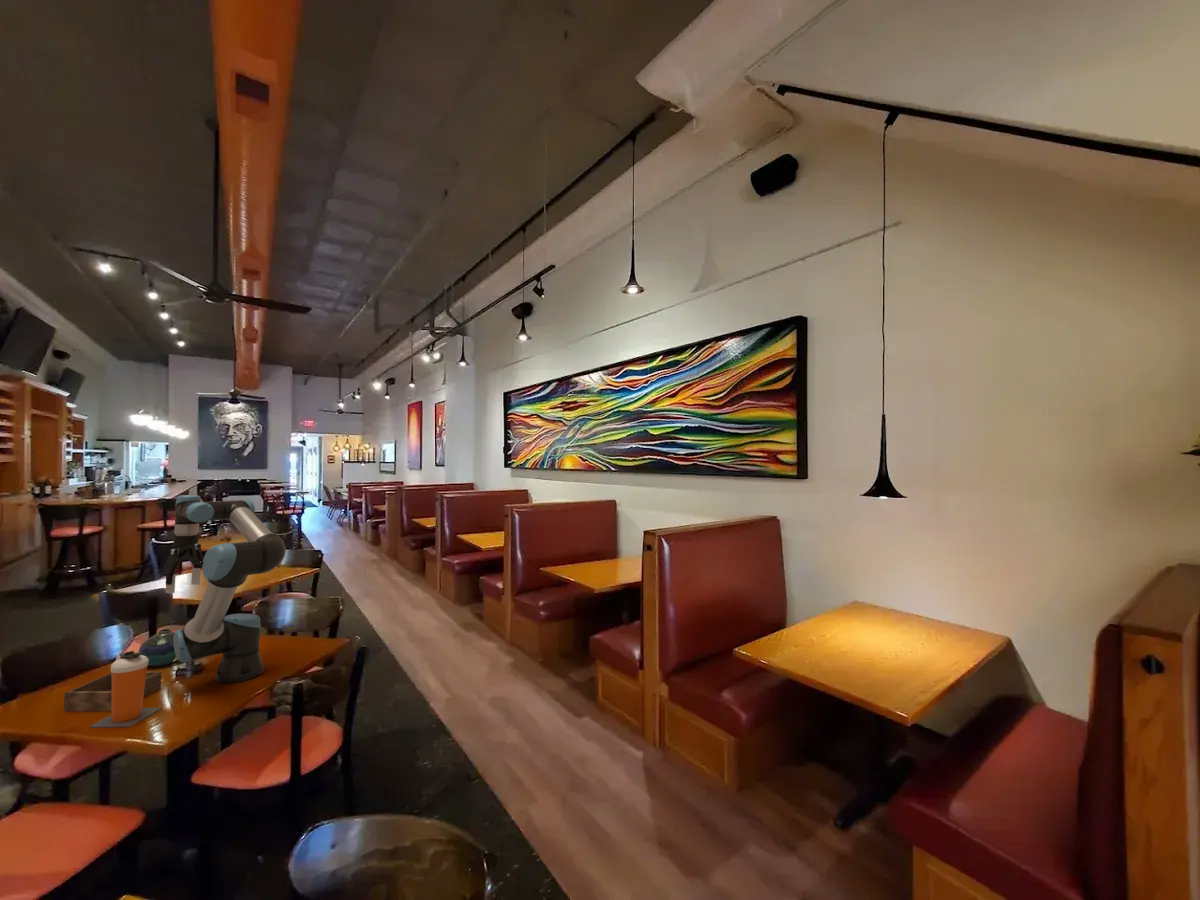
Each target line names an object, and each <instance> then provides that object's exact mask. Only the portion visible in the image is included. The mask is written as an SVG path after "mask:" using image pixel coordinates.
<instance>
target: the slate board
mask: <svg viewBox="0 0 1200 900" xmlns="http://www.w3.org/2000/svg"><path fill="white" fill-rule="evenodd" d="M162 709H163V708H162V707H142V713H141V715H140V716H138V717H136V718H134V719H131V720H128V721H123V722H113V721H112V720H111V714H110V715H108V716H107V717H104V718H102V719H100V720H99V721H96V722H95V723H93V724H91V725H89V726H88V728H89V727H92V728H95V729H97V728H131V727H133V726H134V725H136V724H138V723H139V722H142V721H143V720H145V719H146V718H149V717H150V716H151V715H153V714H155V713H158V711H160V710H162ZM92 728H91V729H92Z"/></svg>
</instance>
